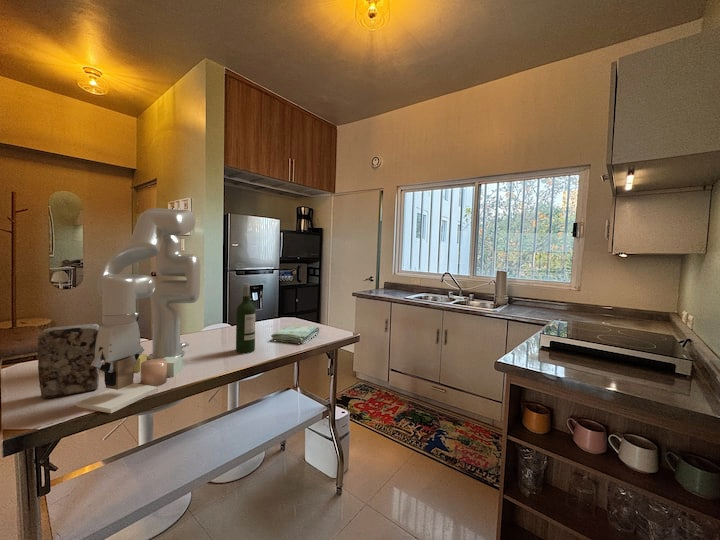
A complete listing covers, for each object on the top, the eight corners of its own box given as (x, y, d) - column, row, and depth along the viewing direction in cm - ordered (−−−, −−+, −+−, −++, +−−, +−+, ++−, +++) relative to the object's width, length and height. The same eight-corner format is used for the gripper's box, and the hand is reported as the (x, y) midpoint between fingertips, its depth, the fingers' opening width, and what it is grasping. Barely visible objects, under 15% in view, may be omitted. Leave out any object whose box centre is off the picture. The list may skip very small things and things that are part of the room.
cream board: (127, 385, 96) (127, 381, 96) (157, 390, 93) (157, 386, 93) (77, 406, 82) (77, 402, 82) (111, 413, 79) (110, 408, 79)
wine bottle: (250, 354, 129) (251, 285, 128) (232, 353, 130) (233, 284, 128) (257, 348, 137) (258, 283, 136) (240, 347, 137) (241, 282, 136)
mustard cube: (131, 367, 111) (131, 354, 110) (146, 367, 112) (146, 353, 112) (123, 372, 106) (123, 358, 106) (139, 372, 107) (139, 358, 107)
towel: (269, 342, 149) (269, 332, 149) (289, 332, 169) (290, 323, 169) (303, 346, 144) (303, 335, 144) (319, 335, 165) (320, 325, 165)
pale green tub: (165, 370, 109) (165, 356, 109) (182, 370, 110) (182, 357, 109) (155, 377, 103) (155, 362, 103) (173, 377, 104) (173, 362, 103)
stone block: (100, 382, 97) (99, 321, 96) (100, 390, 92) (99, 326, 91) (40, 394, 88) (39, 327, 88) (37, 403, 83) (36, 332, 82)
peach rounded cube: (154, 377, 102) (154, 357, 102) (171, 380, 101) (171, 359, 101) (135, 386, 96) (135, 364, 95) (152, 389, 94) (152, 367, 94)
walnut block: (121, 381, 90) (121, 355, 90) (133, 383, 89) (133, 356, 89) (105, 387, 86) (105, 360, 85) (117, 389, 85) (117, 361, 84)
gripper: (137, 313, 96) (137, 369, 96) (76, 324, 79) (76, 392, 80) (156, 315, 94) (156, 372, 95) (97, 326, 77) (98, 396, 78)
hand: (119, 380), depth 87 cm, fingers closed on walnut block, 4 cm apart
